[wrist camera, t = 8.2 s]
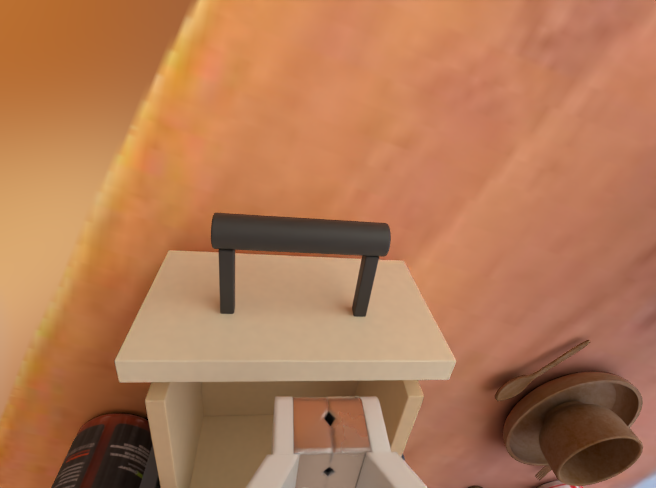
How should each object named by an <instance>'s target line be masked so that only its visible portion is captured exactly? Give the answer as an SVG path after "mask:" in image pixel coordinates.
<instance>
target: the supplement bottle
mask: <svg viewBox="0 0 656 488" xmlns="http://www.w3.org/2000/svg"><path fill="white" fill-rule="evenodd" d="M152 444H153V443H152V438H151V432H150V427H149V421H147V420H146V419H144V418H142V417H139V416H135V415H130V414H118V413H116V414H107V415H101V416H98V417H96V418H94V419H92V420H90V421H88V422H87V423H85V424H84V425H83V426H82V427H81V429H80V430H79V432H78V434H77V436H76V437H75V439H74V441H73V443H72V445H71V448H70V450H69V452H68V454H67V456H66V458H65V460H64V462H63V464H62V467H61V468H60V470H59V473H58V475H57V477H56V479H55V481H54V483H53V485H52V487H51V488H139V487H140V484H141V481H142V477H143V474H144V471H145V468H146V464H147V461H148V458H149V454H150V451H151V448H152Z"/></svg>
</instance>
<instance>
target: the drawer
mask: <svg viewBox="0 0 656 488" xmlns="http://www.w3.org/2000/svg"><path fill="white" fill-rule="evenodd" d="M390 240H391V235H390V228H389V226H388V224H386V223H374V222H358V221H341V220H325V219H309V218H292V217H276V216H259V215H243V214H226V213H214V215H213V219H212V225H211V244H212V247H213V248H214V249H219V252H198V251H175V250H169V251H168V253H167V255H166V257H165V259H164V261H163V263H162V265H161V267H160V269H159V271H158V273H157V275H156V277H155V279H154V281H153V283H152V285H151V287H150V289H149V291H148V293H147V295H146V297H145V299H144V301H143V304H142V306H141V308H140V310H139V312H138V314H137V316H136V318H135V320H134V322H133V324H132V326H131V328H130V330H129V332H128V334H127V336H126V338H125V340H124V342H123V344H122V346H121V348H120V350H119V352H118V354H117V356H116V358H115V361H114V362H115V367H116V371H117V375H118V380H119V382H120V383H133V382H151V384H150V387H149V390H148V393H147V396H146V398H145V405H146V411H147V416H148V421H149V427H150V432H151V438H152V443H153V449H154V454H155V459H156V465H157V470H158V476H159V481H160V486H161V488H246V486H247V485H248V483H249V482H250V480H251V478H252V477H253V475H254V474H255V472H256V471H257V469H258V468H259V466H260V465H261V463H262V462H263V460H264V459H265V457H266V455H268V454H271V446H272V428H273V414H274V401H275V397H337V396H359V397H370V396H376V397H377V398H378V400H379V402H380V407H381V411H382V415H383V419H384V423H385V427H386V432H387V436H388V440H389V444H390V448H391V452H397V453H398V454H399V455H400V456H402V454H403V451H404V448H405V446H406V443H407V441H408V438H409V435H410V433H411V430H412V427H413V425H414V422H415V419H416V417H417V414H418V412H419V409H420V406H421V404H422V401H423V398H424V395H423V392H422V390H421V387H420V384H419V382H418V380H448V379H449V378H450V375H451V373H452V370H453V368H454V366H455V363H456V359H455V358H454V356H453V354H452V352H451V350H450V348H449V346H448V344H447V342H446V340H445V338H444V337H443V335H442V333H441V331H440V329H439V327H438V325H437V323H436V321H435V319H434V317H433V316H432V314H431V312H430V310H429V308H428V306H427V304H426V302H425V300H424V298H423V297H422V295H421V293H420V291H419V289H418V287H417V285H416V283H415V281H414V279H413V277H412V276H411V274H410V272H409V270H408V268H407V266H406V264H405V262H404V261H399V260H379V256H386V255H387V253H388V251H389V247H390ZM235 250H256V251H277V252H299V253H321V254H342V255H362V259H354V258H332V257H309V256H287V255H265V254H242V253H235Z"/></svg>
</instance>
